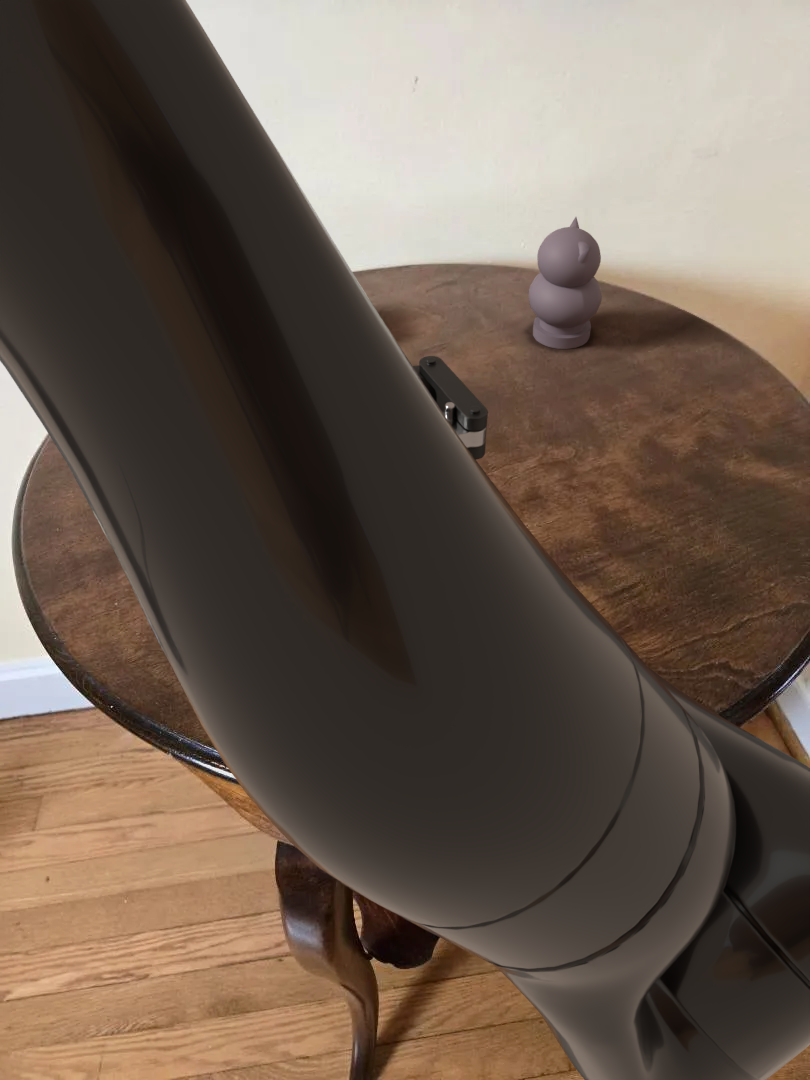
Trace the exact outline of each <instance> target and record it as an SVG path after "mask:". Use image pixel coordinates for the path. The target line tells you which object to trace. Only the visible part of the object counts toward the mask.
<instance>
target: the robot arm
mask: <svg viewBox="0 0 810 1080" xmlns="http://www.w3.org/2000/svg"><path fill="white" fill-rule="evenodd" d="M259 119H260V118H259V117H258V115H257V114H256V113H255V111H254V109H253V108H252V106H251V105H250V103H249V101H248V99H247V98H246V97H245V95H244V93H243V92H242V91H241V88H240V87H239V85H238V84H237V82H236V81H235V79H234V77H233V75H232V73H231V72H230V71H229V69H228V67H227V65H226V64H225V62H224V61H223V58H222V57H221V56H220V53H219V52H218V51H217V49H216V47H215V46H214V44H213V42H212V41H211V39H210V37H209V35H208V33H207V32H206V31H205V29H204V27H203V26H202V24H201V22H200V21H199V19H198V18H197V16H196V14H195V13H194V11H193V9H192V8H191V6H190V4H189V3H188V2H187V0H0V363H1V364H2V365H3V367H4V368H5V369H6V371H7V373H8V374H9V375H10V377H11V379H12V380H13V381H14V383H15V385H16V386H17V388H18V389H19V391H20V392H21V394H22V395H23V397H24V398H25V400H26V401H27V403H28V404H29V406H30V407H31V409H32V410H33V412H34V414H35V415H36V417H37V418H38V420H39V421H40V422H41V424H42V426H43V428H44V429H45V431H46V433H47V434H48V436H49V437H50V439H51V441H52V442H53V443H54V445H55V447H56V448H57V451H59V454H60V455H61V456H62V458H63V459H64V461H65V463H66V465H67V466H68V468H69V470H70V472H71V473H72V476H73V477H74V479H75V481H76V483H77V485H78V487H79V489H80V490H81V492H82V495H83V496H84V498H85V500H86V503H88V506H89V507H90V510H91V511H92V513H93V515H94V518H95V519H96V521H97V522H98V524H99V526H100V529H101V530H102V532H103V533H104V535H105V539H106V540H107V541H108V543H109V545H110V547H111V549H112V551H113V553H114V555H115V557H116V559H117V561H118V563H119V565H120V568H121V569H122V571H123V573H124V575H125V577H126V580H127V582H128V583H129V587H130V588H131V590H132V592H133V594H134V597H135V598H136V600H137V602H138V604H139V606H140V609H141V610H142V613H143V615H144V617H145V619H146V621H147V623H148V625H149V627H150V629H151V631H152V633H153V636H154V638H155V639H156V641H157V642H158V644H159V647H160V648H161V651H162V652H163V654H164V656H165V658H166V660H167V662H168V664H169V666H170V668H171V669H172V672H173V673H174V675H175V677H176V679H177V681H178V683H179V685H180V688H181V689H182V691H183V692H184V694H185V695H184V696H186V698H187V700H188V701H189V704H190V706H191V709H192V710H193V712H194V714H195V716H196V718H197V719H198V721H199V722H200V725H201V727H202V729H203V730H204V732H205V733H206V735H207V737H208V738H209V740H210V742H211V744H212V745H213V747H214V748H215V750H216V752H217V753H218V755H219V757H220V758H221V760H222V762H223V763H224V765H225V766H226V767H227V768H228V771H229V772H230V773H231V774H232V776H233V777H234V779H235V780H236V781H237V783H238V784H239V786H240V787H241V788H242V790H243V791H244V793H245V794H246V795H247V797H248V798H249V799H250V800H251V801H252V802H253V803H254V805H256V807H257V808H258V809H259V810H260V811H261V813H263V815H264V816H265V817H266V818H267V819H268V820H269V821H270V823H271V824H272V825H273V826H274V827H275V828H276V829H277V830H278V831H279V832H280V834H282V835H283V837H285V838H286V839H287V840H288V842H289V843H291V844H292V845H293V846H294V847H295V848H296V849H297V850H298V851H299V852H301V853H302V854H303V855H304V856H305V857H306V858H307V859H308V860H309V861H311V862H312V864H314V865H315V866H316V867H317V868H318V869H320V870H321V871H323V872H324V873H325V874H327V875H329V876H330V877H332V878H333V879H334V880H336V881H338V882H339V883H341V884H342V885H344V886H345V887H346V888H348V889H350V890H351V891H352V892H355V893H357V894H358V895H360V896H361V897H364V898H365V899H367V900H369V901H371V902H373V903H375V904H377V905H378V906H380V907H381V908H384V909H385V910H387V911H389V912H391V913H393V914H395V915H397V916H400V917H401V918H402V919H404V920H406V921H408V922H410V923H412V924H414V925H416V926H418V927H419V928H421V929H423V930H425V931H427V932H429V933H431V934H433V935H435V936H436V937H439V938H440V939H443V940H444V941H446V942H448V943H450V944H451V945H454V946H456V947H457V948H460V949H462V950H463V951H465V952H467V953H469V954H470V955H473V956H475V957H477V958H479V959H481V960H483V961H484V962H487V963H489V964H490V965H493V966H494V967H495V968H496V969H497V970H498V971H499V972H501V974H503V976H505V977H506V979H507V980H509V982H511V984H512V985H513V986H514V987H515V988H516V989H517V990H518V991H519V992H520V993H521V994H522V995H523V996H524V998H526V999H527V1001H528V1002H529V1003H530V1004H531V1005H532V1006H533V1008H535V1010H536V1011H537V1012H538V1013H539V1014H540V1016H541V1017H542V1019H543V1020H544V1022H545V1023H546V1025H547V1027H548V1028H549V1030H550V1031H551V1033H552V1035H553V1036H554V1038H555V1040H556V1041H557V1043H558V1044H559V1046H560V1048H561V1049H562V1050H563V1052H564V1054H565V1055H566V1057H567V1058H568V1060H569V1061H570V1063H571V1064H572V1066H573V1067H574V1068H575V1069H576V1071H577V1072H578V1073H579V1074H580V1076H581V1077H582V1078H583V1079H584V1080H768V1079H769V1078H770V1077H771V1076H773V1075H775V1073H776V1072H779V1070H780V1069H782V1068H784V1066H785V1065H787V1064H788V1063H790V1062H791V1061H792V1060H793V1059H795V1058H796V1057H797V1056H798V1055H799V1054H801V1053H802V1052H803V1051H805V1050H806V1049H807V1048H808V1047H809V1046H810V766H807V765H806V764H805V763H804V762H803V763H802V762H801V761H799V760H797V759H796V758H794V757H793V756H790V755H789V754H787V753H785V752H783V751H782V750H781V749H779V748H777V747H775V746H773V745H772V744H770V743H769V742H767V741H765V740H763V739H762V738H759V737H758V736H756V735H754V734H752V733H751V732H749V731H747V730H745V729H743V728H742V727H740V726H738V725H736V724H734V723H733V722H731V721H730V720H727V719H726V718H724V717H723V716H721V715H720V714H718V713H717V712H714V711H713V710H712V709H710V708H708V707H706V706H705V705H703V704H702V703H700V702H698V701H697V700H695V699H694V698H692V697H691V696H689V695H688V694H687V693H685V692H683V690H680V689H679V688H678V687H677V686H675V685H674V684H672V683H671V682H669V681H668V680H667V679H665V678H663V677H662V676H661V675H660V674H658V673H657V672H656V671H654V670H653V669H652V668H650V667H649V666H648V665H647V664H646V663H645V662H644V661H643V659H642V658H641V657H640V656H639V654H637V653H636V652H635V651H634V650H633V648H632V647H631V646H630V644H628V643H627V641H626V640H624V638H623V637H622V636H621V635H620V633H619V632H618V631H617V630H616V629H615V628H614V627H613V626H612V625H611V623H610V622H609V621H608V620H607V619H606V618H605V617H604V616H603V614H602V613H600V611H599V610H598V609H597V608H596V607H595V606H594V605H593V604H592V603H591V601H589V600H588V598H587V597H586V596H585V595H584V594H583V593H582V592H581V591H580V589H578V587H577V586H576V585H575V584H574V583H573V582H572V581H571V580H570V578H569V577H568V576H567V575H566V574H565V572H564V571H563V570H562V569H561V567H560V566H559V565H558V564H557V562H556V561H555V560H554V559H553V557H552V556H551V555H550V554H549V552H548V551H547V550H546V549H545V548H544V547H543V545H542V544H541V542H540V541H539V540H538V539H537V538H536V536H535V535H534V534H533V533H532V532H531V530H530V529H529V528H528V527H527V525H526V524H525V523H524V521H522V519H521V518H520V517H519V515H518V513H516V511H515V510H514V509H513V507H512V506H511V505H510V503H509V502H508V501H507V499H506V498H505V497H504V496H503V494H502V492H501V491H500V490H499V488H498V487H497V486H496V485H495V483H494V482H493V481H492V479H491V478H490V477H489V475H488V474H487V473H486V471H485V469H483V467H482V466H481V465H480V463H479V462H478V461H477V460H480V459H482V458H483V457H485V455H486V446H487V445H486V444H487V429H488V428H487V427H488V418H489V417H488V415H489V410H488V409H487V407H486V406H485V405H484V404H483V402H482V401H480V400H479V399H478V398H477V396H476V395H475V394H474V393H473V391H472V390H470V389H469V388H468V386H466V384H465V383H464V382H463V381H462V380H461V379H460V377H459V376H457V374H456V373H455V372H454V371H453V370H452V369H451V368H450V367H449V366H448V365H447V363H446V362H445V361H444V360H443V359H442V358H440V357H438V356H435V355H425V356H423V357H422V358H420V359H419V362H418V365H417V364H416V365H412V363H411V361H410V360H409V359H408V357H407V355H406V354H405V352H404V350H403V349H402V348H401V345H400V344H399V343H398V341H397V340H396V338H395V337H394V334H393V333H392V332H391V330H390V329H389V327H388V325H387V324H386V323H385V321H384V320H383V318H382V316H381V315H380V313H379V312H378V309H377V308H376V307H375V304H373V302H372V300H371V299H370V298H369V296H368V294H367V293H366V291H365V290H364V288H363V286H362V285H361V284H360V282H359V280H358V279H357V277H356V275H355V273H354V272H353V271H352V269H351V268H350V266H349V264H348V262H347V261H346V260H345V258H344V256H343V255H342V252H341V251H340V249H339V248H338V246H337V245H336V243H335V241H334V240H333V238H332V236H331V235H330V233H329V231H328V229H326V226H325V225H324V223H323V222H322V220H321V218H320V217H319V215H318V214H317V212H316V210H315V208H314V207H313V205H312V204H311V202H310V200H309V199H308V197H307V196H306V194H305V192H304V191H303V189H302V187H301V185H300V184H299V182H298V180H297V179H296V178H295V176H294V175H293V172H292V171H291V169H290V168H289V166H288V165H287V163H286V161H285V159H284V157H283V156H282V155H281V152H280V151H279V150H278V148H277V146H276V144H275V143H274V141H273V140H272V138H271V137H270V135H269V134H268V131H266V129H265V127H264V126H263V124H262V122H261V121H260V120H259Z"/></svg>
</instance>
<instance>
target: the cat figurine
mask: <svg viewBox="0 0 810 1080" xmlns="http://www.w3.org/2000/svg"><path fill="white" fill-rule="evenodd" d="M601 255H602V254H601V249H600V245H599V244H598V242H597V240H596V239H595V238H594V237H593V235H592V234H591V233H589V232H588V231H586V230H584V229H582V228H580V226H579V222H578V217H577V216H575V217H574V219H573V221H572V222H571V224H570V225H569V226H566V227H565V226H564V227H561V228H557V229H555V230H553V231H552V232H550V233H549V234H548V235H546V237H545V238H543V241H542V242H541V244H540V245H539V248H538V249H537V260H536V261H537V267H538V270H539V273H538V274H536V276H535V277H534V279H533V280H532V281H531V283H530V285H529V287H528V288H529V289H528V303H529V307H530V308H531V310H532V312H533V313H534V314H535V318H534V320H533V326H532V336H533V338H534V339H535V341H536V342H538V343H539V344H541V345H543V346H545V347H548V348H553V349H558V350H569V349H570V350H571V349H577V348H579V347H582V346H584V345H585V344H587V343H588V341H589V339H590V336H591V331H592V325H591V321H590V320H591V319H592V318H594V316H595V315H596V314H597V312H598V311H599V308H600V306H601V305H602V297H603V295H602V289H601V285H600V282H598V280H597V278H596V277H595V276H596V274H597V272H598V270H599V268H600V266H601V262H602V256H601Z"/></svg>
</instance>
